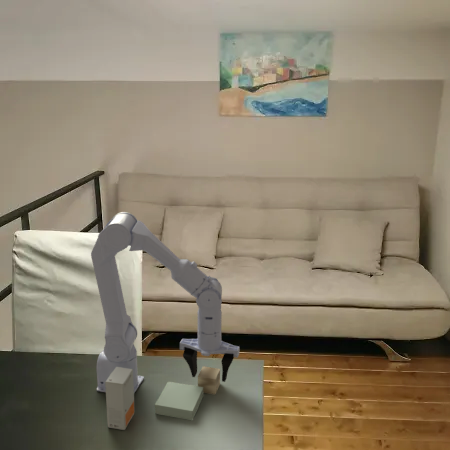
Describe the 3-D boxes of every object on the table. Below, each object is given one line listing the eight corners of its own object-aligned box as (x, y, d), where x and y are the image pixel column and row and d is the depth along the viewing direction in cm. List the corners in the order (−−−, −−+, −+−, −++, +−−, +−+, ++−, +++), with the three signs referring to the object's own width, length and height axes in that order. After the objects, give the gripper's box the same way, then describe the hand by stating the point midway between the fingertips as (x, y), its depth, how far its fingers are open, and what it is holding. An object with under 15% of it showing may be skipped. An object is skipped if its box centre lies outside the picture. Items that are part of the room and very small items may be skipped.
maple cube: (197, 392, 124) (197, 376, 122) (202, 381, 128) (202, 366, 127) (215, 395, 123) (215, 379, 121) (219, 384, 127) (220, 368, 126)
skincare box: (125, 430, 110) (122, 384, 107) (107, 428, 111) (104, 381, 107) (135, 413, 116) (133, 368, 112) (118, 410, 117) (115, 365, 113)
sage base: (155, 413, 116) (154, 404, 115) (168, 390, 124) (168, 381, 123) (192, 420, 114) (192, 411, 113) (203, 395, 122) (203, 387, 122)
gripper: (175, 332, 118) (176, 382, 122) (235, 341, 115) (234, 391, 119) (184, 318, 125) (185, 365, 129) (241, 326, 121) (240, 374, 126)
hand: (209, 377), depth 124 cm, fingers open, 7 cm apart
